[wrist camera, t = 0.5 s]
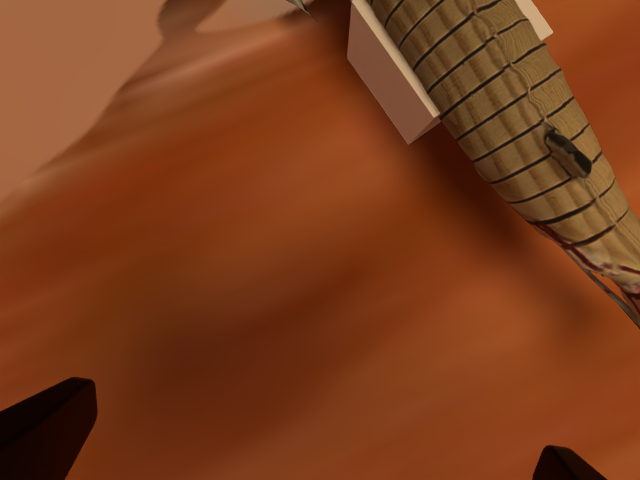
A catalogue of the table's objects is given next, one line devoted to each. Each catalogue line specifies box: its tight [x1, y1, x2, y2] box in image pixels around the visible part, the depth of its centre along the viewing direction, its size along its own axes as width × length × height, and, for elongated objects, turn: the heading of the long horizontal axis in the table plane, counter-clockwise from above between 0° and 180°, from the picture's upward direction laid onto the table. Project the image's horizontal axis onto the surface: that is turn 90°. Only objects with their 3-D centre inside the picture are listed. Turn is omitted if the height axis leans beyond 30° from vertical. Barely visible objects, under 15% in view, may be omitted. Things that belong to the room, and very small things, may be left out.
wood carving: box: [287, 0, 640, 329], centre depth 18 cm, size 9×35×11 cm, turn 36°
